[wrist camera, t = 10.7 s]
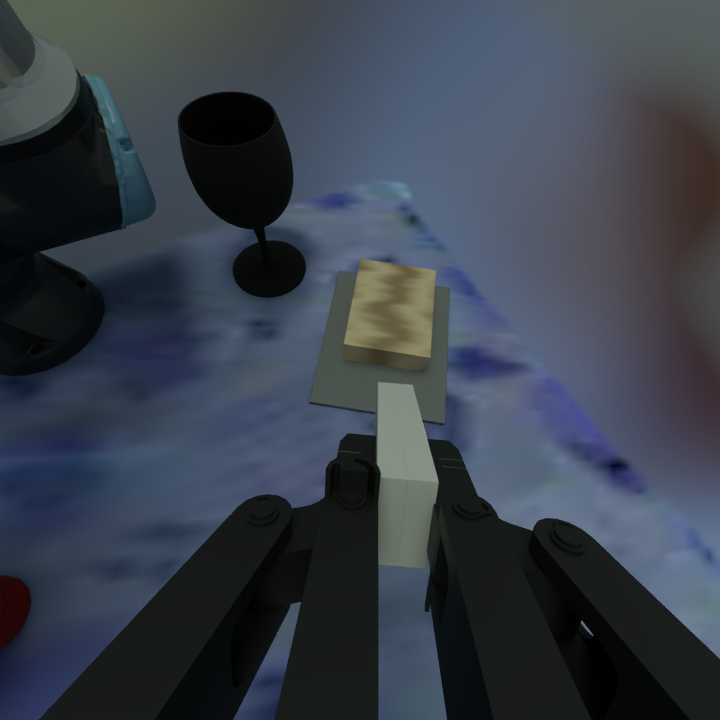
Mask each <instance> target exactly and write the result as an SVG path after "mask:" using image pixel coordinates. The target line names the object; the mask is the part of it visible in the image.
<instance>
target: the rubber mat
mask: <svg viewBox="0 0 720 720" xmlns="http://www.w3.org/2000/svg"><path fill="white" fill-rule="evenodd" d="M356 279H357V274H356V273H350V272H343V271H339V275H338V279H337V283H336V288H335V292H334V296H333V301H332V305H331V309H330V314H329V318H328V322H327V327H326V331H325V335H324V340H323V344H322V349H321V353H320V357H319V362H318V366H317V370H316V375H315V379H314V383H313V388H312V392H311V396H310V401H309V402H310V403H312V404H318V405H324V406H330V407H337V408H343V409H349V410H355V411H361V412H368V413H374V414H375V413H376V401H377V388H378V382H383V383H396V384H409V385H413V388H414V392H415V395H416V399H417V403H418V407H419V410H420V414H421V418H422V421H423V422H430V423H436V424H442V425H443V424H445V402H446V374H447V347H448V320H449V293H450V288H448V287H441V286H435V291H434V307H433V323H432V339H431V355H430V359H429V361H428V363H427V365H426V367H425V368H424V370H423V372H419V371H413V370H407V369H400V368H394V367H388V366H381V365H375V364H369V363H362V362H356V361H350V360H344V359H343V355H344V340H345V335H346V330H347V325H348V320H349V315H350V310H351V304H352V299H353V294H354V289H355V284H356Z"/></svg>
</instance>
